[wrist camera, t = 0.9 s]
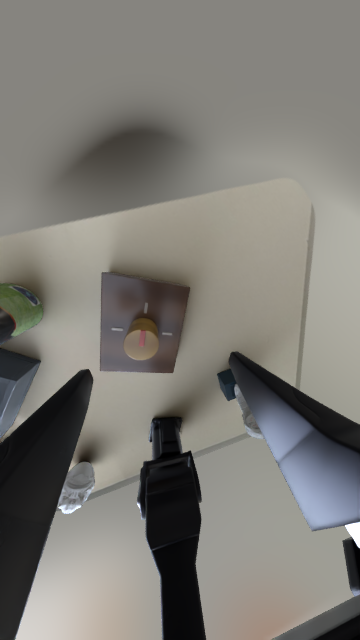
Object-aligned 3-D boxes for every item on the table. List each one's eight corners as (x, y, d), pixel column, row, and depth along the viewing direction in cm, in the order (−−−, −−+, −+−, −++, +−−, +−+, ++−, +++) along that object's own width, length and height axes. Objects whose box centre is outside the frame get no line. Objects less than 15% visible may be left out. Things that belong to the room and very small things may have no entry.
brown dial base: (170, 362, 26) (173, 374, 23) (105, 359, 24) (99, 372, 21) (185, 285, 22) (190, 287, 19) (108, 271, 20) (100, 272, 17)
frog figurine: (104, 453, 31) (92, 501, 24) (95, 473, 32) (81, 524, 26) (73, 450, 29) (51, 502, 23) (64, 472, 31) (41, 527, 24)
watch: (222, 395, 32) (256, 455, 22) (215, 367, 29) (250, 421, 19) (245, 386, 32) (289, 440, 22) (241, 357, 29) (289, 405, 19)
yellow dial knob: (155, 345, 21) (156, 362, 17) (127, 343, 20) (121, 361, 16) (159, 319, 20) (161, 332, 16) (129, 316, 19) (123, 328, 15)
